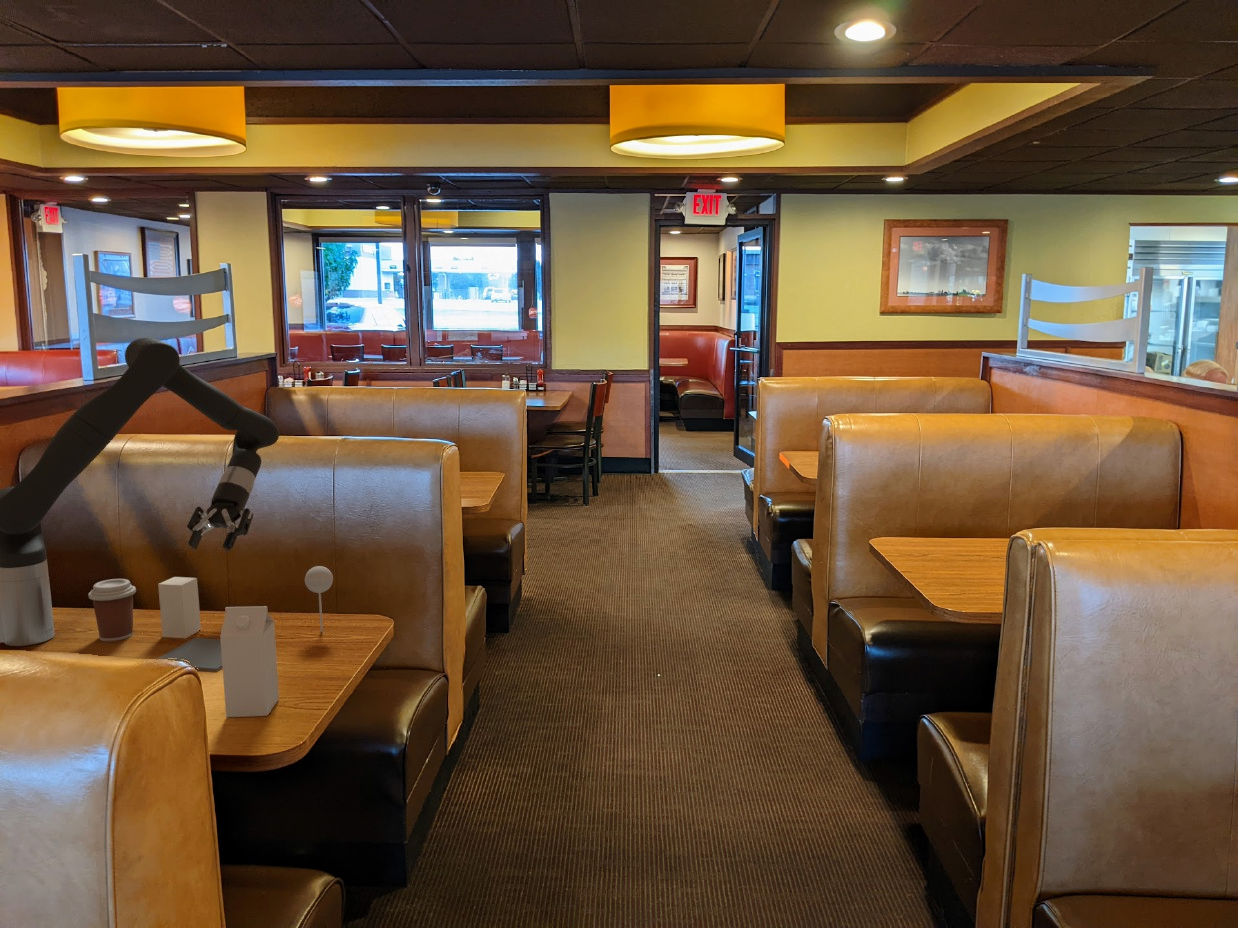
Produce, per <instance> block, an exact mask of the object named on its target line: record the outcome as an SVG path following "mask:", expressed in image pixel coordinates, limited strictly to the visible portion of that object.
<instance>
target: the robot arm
mask: <svg viewBox="0 0 1238 928" xmlns="http://www.w3.org/2000/svg"><path fill="white" fill-rule="evenodd" d="M124 360H125V364H126V365H127V367H128V368H127V370H126V371H124V373H123V374H122V375H121V377H119V379H118V380H117V381H116V382H115V383H113V384H112V385H111V386H110V387H109V388H107V389H105V390H104V391H102V392H101V393H99V394H97V395H96V396H94V397H93V398H91V399H90V400H88V401H87V402H85V403H84V404H82V405H81V406H80V407H78V408H77V409H76V411H75V412H73V413H72V415H71V416H70V417H69V418H68V419H67V420H66V421H65V422H64V423H63V424H62V425H61V427H60V428H59V429H58V430H57V431H56V432H55V435H54V436H53V437H52V438H51V440H50V442H49V443H48V445H47V447H46V449H44V452H43V454H42V455H41V457H40V458H39V460H38V461H37V463H36V464H35V466H34V467H33V468H32V469H31V470H30V472H28V474H26V475H25V476H24V477H23V478H22V479H21V480H20V481H19V482H18V483H17V484H16V485H15V486H7V487H4V488H1V489H0V643H3V644H4V645H6V646H10V647H24V646H30V645H31V646H32V645H36V644H40V643H43V642H46V641H49V640H51V639H53V638H54V637H55V635H56V634H55V626H54V625H55V624H54V614H53V606H52V605H53V604H52V595H51V586H50V577H49V567H48V559H47V547H46V544H45V541H44V536H43V529H42V521H43V520H44V519H45V516H46V515H47V514H48V512H49V511H50V509H52V506H53V505H54V504H55V503H56V501H57V500H58V499H59V497H60V496H61V495H62V494H63V492H64V491H65V490H66V489H67V487H68V486H69V485H70V484H71V483H72V482H73V481H75V479H76V478H77V477H78V476H79V475H81V474H82V472H83V471H84V470H86V468H87V467H88V466H89V465H90V464H91V463H92V462H93V461H94V460H95V459H96V458H98V456H99V455H100V454H101V453H102V452H103V451H104V449H105V448H106V447H107V446H108V445H109V444H110V443H111V442H112V441H113V440H114V438H115V437H116V436H117V435H118V433H119V432H120V431H121V430H122V429H123V428H124V427H125V426H126V424H127V423H128V422H129V421H130V419H131V418H132V417H134V415H135V414H136V412H137V411H138V410H139V409H140V408H141V407H142V406H144V403H146V402H147V401H148V400H149V399H150V398H151V397H152V396H153V395H155V393H157V391H159V390H160V389H161V388H162V387H164V388H165V389H167V390H169V391H170V392H172V393H173V394H175V395H177V396H178V397H179V398H180V399H182V400H184V401H185V402H186V403H188V404H189V405H190V406H191V407H193V408H194V409H195V410H197V411H198V412H199V413H201V414H203V415H204V416H205V417H207V418H208V419H209V420H211V421H212V422H213V423H215V424H216V425H217V426H219V427H221V428H222V429H224V430H226V431H236V432H235V434H234V437H233V445H232V452H231V453H232V454H231V457H230V459H229V462H228V464H227V466H226V468H225V470H224V472H223V473H222V475H221V477H220V479H219V482H218V484H217V486H216V487H215V491H214V494H213V495H212V498H211V502H210V503H211V504H210V505H209V507H208V508H206V509H205V508H202V507H201V506H196V508H194V509H195V510H194V511H193V513H192V515H191V517H190V520H188V524H187V525H186V528H187V530H189V531H190V532H191V536H190V537H189V540H188V545H189V548H190V549H192V550H197V549H198V546H199V544H200V542H201V540H202V538H203V535H204V534H206V532H208V531H212V530H213V529H214V528H217V529H218V528H219V529H220V528H223V529H227V528H228V530H229V532H227V534H226V537H225V539H224V541H223V544H222V548H223V549H224V550H225V551H227V552H230V550H231V549H233V548H234V545H235V544H236V540H237V538H239V536H242V535H243V536H247V534H248V532H249V530H250V527H251V524H252V521H253V517H254V513H253V512H252V511H251V510H250V509H249V508H247V507H246V506H247V503H248V500H249V499H250V498H249V497H250V495H251V494H252V491H253V489H254V485H255V481H256V478H257V477H258V474H259V471H260V469H261V467H262V457H261V455H259V454H258V453H257V451H258V450H259V449H260V450H261V449H262V448H263V449H264V448H267V447H271V446H272V445H275V443H277V442H278V440H279V437H280V432H279V428H278V426H277V425H276V423H275V421H273V420H272V419H271V418H270V417H267V416H266V415H264V414H261V413H259V412H257V411H255V410H253V409H251V408H248V407H245V406H243V405H242V404H240V403H239V402H238V401H237V400H235V399H233V398H232V397H231V396H230V395H228V394H226V392H224V391H222V390H221V389H219V388H218V387H216V386H214V385H213V384H211V383H209V382H208V381H205V380H204V379H202V378H201V377H199V376H197V375H196V374H194V373H192V372H191V371H190V370H188V369H187V368H186V367H185V366H183V365H182V364H180V363H181V362H180V354H179V352H178V350H177V349H176V348H175V347H174V346H173V345H172V344H170V343H168V342H165V341H162V340H158V339H157V338H154V337H153V338H152V337H140V338H136V339H134V340H133V341H131V342H130V343H128V345H127V347H126V348H125V351H124ZM245 507H246V508H245ZM239 519H240V521H239V523H238V525H237V521H238V520H239ZM208 522H209V524H208Z"/></svg>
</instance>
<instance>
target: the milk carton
mask: <svg viewBox="0 0 1238 928" xmlns="http://www.w3.org/2000/svg"><path fill="white" fill-rule="evenodd" d="M275 630H276V629H275V621H274V619H273V618H272V616H271V615H270V613H269V612H268V606H266V605H264V606H261V605H260V606H226V607H225V614H224V619H223V622H222V627H221V630H220V631H221V632H220V635H219V637H220V639H221V653H222V667H223V668H222V680H223V692H224V702H225V703H224V704H225V706H224V707H225V716H226V718H238V717H239V718H241V717H247V718H248V717H265V716H266V717H267V716H268V715H269V714H270V712H271V711H272V710H273V708H274V707H275V706H276V704H277V703H278V701H279V700H280V693H279V681H278V680H279V676H278V660H277V646H276V633H275V632H276V631H275Z"/></svg>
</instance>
